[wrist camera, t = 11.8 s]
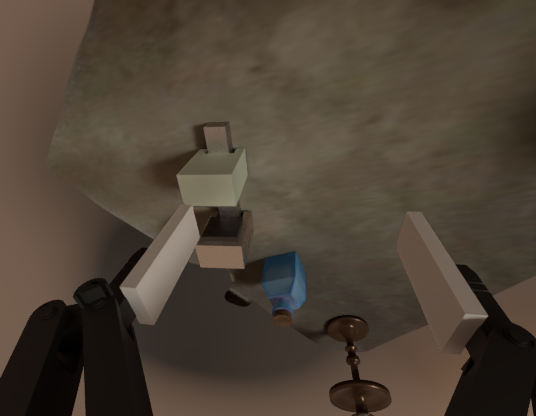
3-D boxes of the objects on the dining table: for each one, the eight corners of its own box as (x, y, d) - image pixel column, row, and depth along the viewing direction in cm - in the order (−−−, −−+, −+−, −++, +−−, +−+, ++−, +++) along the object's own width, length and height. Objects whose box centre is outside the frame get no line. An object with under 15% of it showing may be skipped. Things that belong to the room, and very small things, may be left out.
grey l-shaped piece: (195, 122, 37) (167, 144, 29) (242, 121, 36) (226, 143, 28) (219, 241, 48) (204, 279, 40) (254, 242, 48) (246, 281, 40)
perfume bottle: (295, 251, 48) (294, 305, 38) (305, 273, 51) (306, 329, 41) (265, 257, 50) (256, 312, 40) (276, 279, 53) (270, 334, 43)
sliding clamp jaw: (200, 149, 38) (176, 174, 31) (244, 148, 37) (231, 174, 30) (206, 180, 41) (185, 211, 33) (248, 180, 40) (236, 211, 33)
